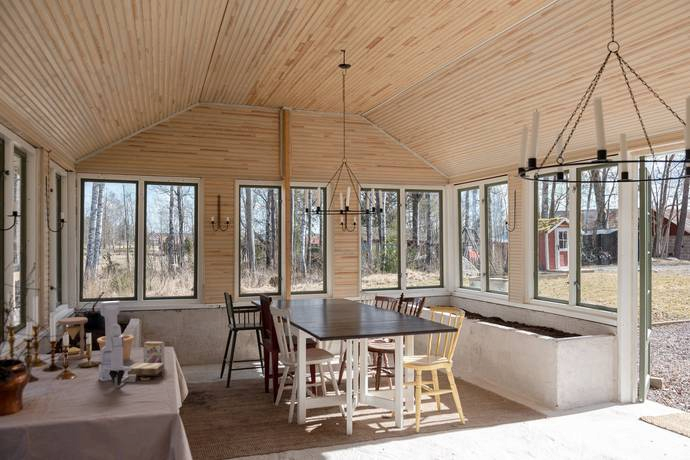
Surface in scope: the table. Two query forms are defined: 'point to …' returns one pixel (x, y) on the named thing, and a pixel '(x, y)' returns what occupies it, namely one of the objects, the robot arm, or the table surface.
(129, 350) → the pottery
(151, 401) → the table surface
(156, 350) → the candy bar box
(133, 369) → the tan cardboard box
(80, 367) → the table surface
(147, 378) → the brass disc
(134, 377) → the grey t-shaped piece
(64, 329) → the hourglass
